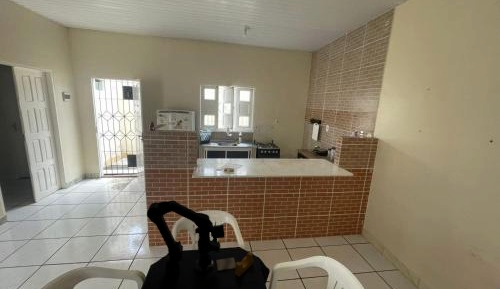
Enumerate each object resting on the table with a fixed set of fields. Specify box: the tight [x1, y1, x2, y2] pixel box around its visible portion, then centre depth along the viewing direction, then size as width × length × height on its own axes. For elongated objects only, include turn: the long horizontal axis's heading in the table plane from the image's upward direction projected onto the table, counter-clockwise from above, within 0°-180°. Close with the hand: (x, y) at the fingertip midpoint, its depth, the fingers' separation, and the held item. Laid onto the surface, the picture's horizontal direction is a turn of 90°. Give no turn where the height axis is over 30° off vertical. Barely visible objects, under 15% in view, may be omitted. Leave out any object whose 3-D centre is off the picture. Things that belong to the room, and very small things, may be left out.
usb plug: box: [195, 259, 214, 272], centre depth 115 cm, size 9×4×4 cm, turn 105°
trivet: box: [215, 257, 236, 272], centre depth 119 cm, size 10×8×1 cm
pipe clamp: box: [234, 251, 254, 277], centre depth 116 cm, size 12×4×6 cm, turn 144°
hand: (203, 265), depth 115 cm, fingers open, 9 cm apart
